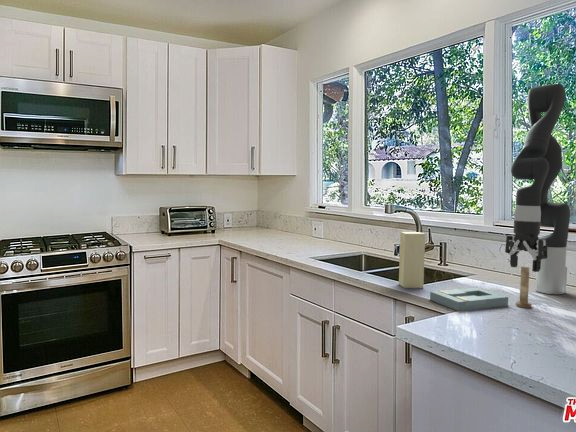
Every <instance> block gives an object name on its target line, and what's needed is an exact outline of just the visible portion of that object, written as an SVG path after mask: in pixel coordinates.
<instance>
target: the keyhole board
mask: <svg viewBox="0 0 576 432" xmlns="http://www.w3.org/2000/svg"><path fill="white" fill-rule="evenodd" d="M429 292H430V293H429V294H430V295H429V300H430V301H432V302H435V303H437V304H439V305H442V306H445V307H446V308H450V309H452V310H454V311H456V312H461V311H462V312H463V311H473V310H479V309H482V310H483V309H489V308H499V307H500V308H501V307H508V306H509V296H507V295H506V296H505V295H503V294H500V293H497V292H493V291H490V290H486V289H484V288H480V287H469V288H468V287H467V288H456V289H446V290H445V289H444V290H441V289H440V290H434V291H433V290H432V291H429Z"/></svg>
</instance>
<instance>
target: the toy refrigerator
mask: <svg viewBox="0 0 576 432" xmlns="http://www.w3.org/2000/svg"><path fill="white" fill-rule="evenodd" d="M425 248H426V233H424V232H421V231H418V232H417V231H400V232H399V260H398V261H399V263H398V264H399V268H398V269H399V270H398V272H399V273H398V285H399V286H400V287H402V288H403V289H404V288H405V289H410V288H411V289H414V288H415V289H424V282H425V281H424V279H425V278H424V277H425V251H426V249H425Z"/></svg>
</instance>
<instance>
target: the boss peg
mask: <svg viewBox="0 0 576 432" xmlns="http://www.w3.org/2000/svg"><path fill="white" fill-rule="evenodd" d="M530 268H531V267H530V266H522V265H521V266H520V283H519V285H520V286H519V287H520V288H519V301H515V307H517V308H522V309H531V308H532V305H533V304H532V303H531V302H529V291H530V289H529V288H530V287H529V285H530Z"/></svg>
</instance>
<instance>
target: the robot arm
mask: <svg viewBox="0 0 576 432" xmlns="http://www.w3.org/2000/svg"><path fill="white" fill-rule="evenodd" d="M566 96H567V94H566V90H565V86H564V85H563V84H562V83H553V84H546V85H540V86H535V87H531V88H530V89H529V90H528V93H527V109H528V117H529V124H530V129H529V130H528V132H527V134H526V136H525V139H524V142H523V147H522V149H521V150H520V151H519V153H518V154H517V156H516V157H515V158H514V160H513V162H512V165H511V169H510V173H511V176H512V177H513V178H514V179H516V180H523V181H525V180H527V181H528V180H531V181H533V182H532V184H531V185H528V186H523V187H519V188H517V190H516V193H515V208H514V215H513V217H514V218H513V233H514V234H515V235H512V234H511V235H507V236H506V238H505V248H504V252H505V253H506V254H508V255H509V264H510V267H511V268H517V267H518V264H519V263H518V261H519V253H521V252H522V251H524V252H528V254H529V255H530V256H531V258H532V268H531V271H532V272H534V273H535V288H534V289H535V291H536V292H539V293H542V294H546V295H564V294H565V293H567V278H568V277H567V274H568V267H567V266H566V261H567V244H568V243H567V242H568V239H569V227H570V222H571V221H570V220H571V210H570V206H569V204H568V203H565V202H552V201H551V202H550V201H549V202H548V193H549V191H550V188H551V186H552V184H553V183H554V181H555V180H556V178H557V177H558V175H559V174H560V172H561V170H562V168H563V154H562V153H563V151H562V146H561V145H560V143H559V142H558V140H557V139H556V138H555V137H554V135H552V133H553V130H554V128H555V126H556V124H557V123H558V121H559V118H560V116H561V113H562V111H563V110H564V107H565V103H566V98H567V97H566ZM543 113H545V114H544V115H543V116H542V114H543ZM541 227H543V228H553V231H552V232H551V233H549V234H547V235H543V236H540V234H541Z"/></svg>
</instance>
